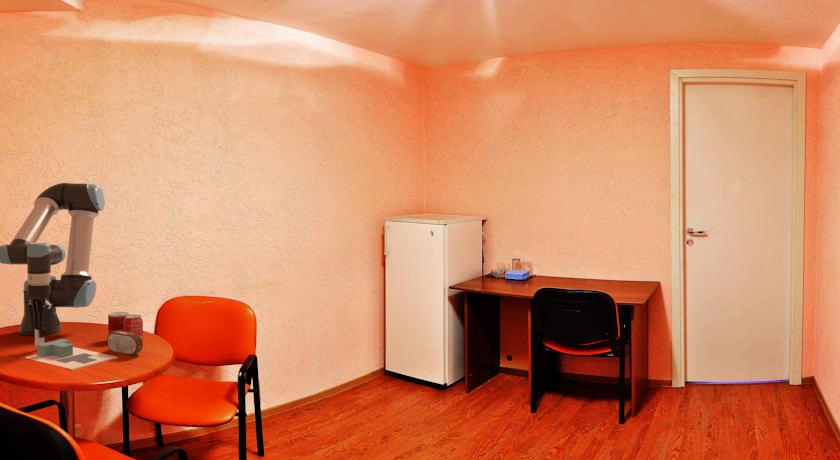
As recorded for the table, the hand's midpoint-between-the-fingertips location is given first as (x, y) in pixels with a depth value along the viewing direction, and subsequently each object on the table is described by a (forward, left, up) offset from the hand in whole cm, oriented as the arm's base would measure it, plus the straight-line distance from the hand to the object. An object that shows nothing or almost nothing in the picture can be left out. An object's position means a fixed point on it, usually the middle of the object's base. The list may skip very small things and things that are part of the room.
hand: (39, 345), depth 236 cm
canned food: (-27, +10, -2) cm, 28 cm away
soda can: (-24, +22, -2) cm, 32 cm away
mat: (0, +18, -2) cm, 18 cm away
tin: (-15, +28, -3) cm, 32 cm away
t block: (0, +11, -2) cm, 11 cm away
